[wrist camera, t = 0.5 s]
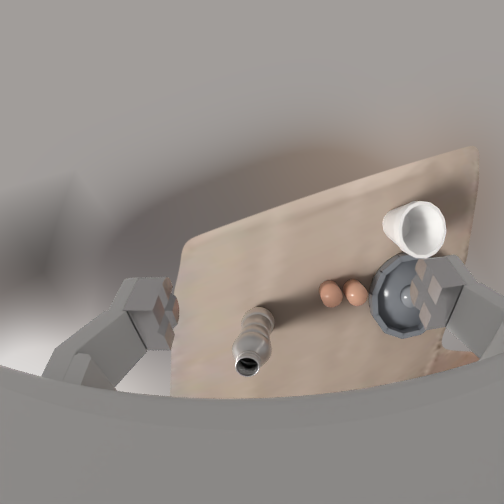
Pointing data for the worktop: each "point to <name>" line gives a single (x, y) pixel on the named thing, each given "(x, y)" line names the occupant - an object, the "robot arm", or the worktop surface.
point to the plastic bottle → (253, 341)
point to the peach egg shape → (330, 293)
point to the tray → (395, 297)
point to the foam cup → (416, 228)
